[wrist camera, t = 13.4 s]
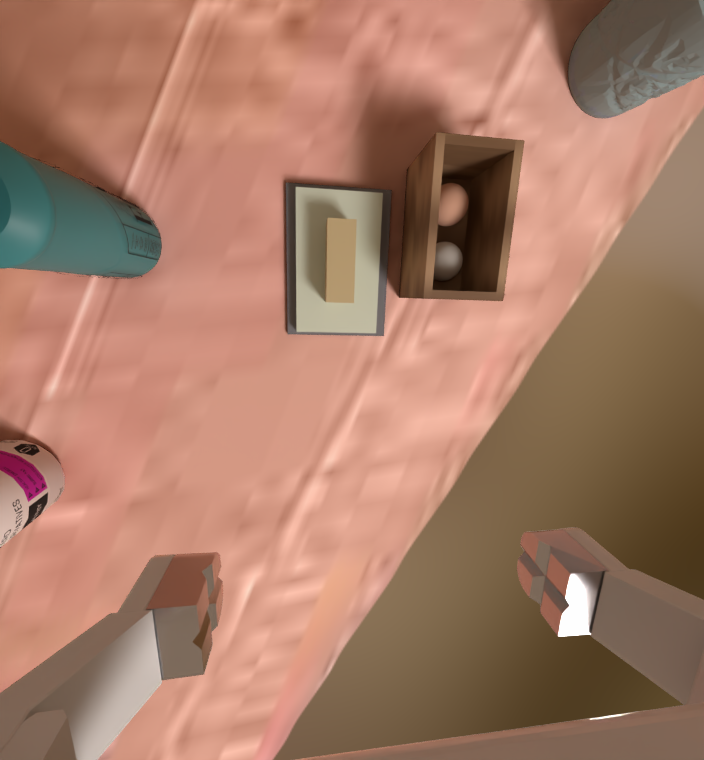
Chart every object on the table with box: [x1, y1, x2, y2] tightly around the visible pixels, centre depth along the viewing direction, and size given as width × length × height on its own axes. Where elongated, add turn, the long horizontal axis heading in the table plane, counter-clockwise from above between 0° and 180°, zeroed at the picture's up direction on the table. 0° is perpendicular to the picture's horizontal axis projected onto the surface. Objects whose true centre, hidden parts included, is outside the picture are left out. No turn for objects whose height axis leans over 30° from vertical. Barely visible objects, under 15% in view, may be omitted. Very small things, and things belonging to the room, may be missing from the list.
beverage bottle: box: [0, 141, 162, 279], centre depth 22 cm, size 6×7×20 cm
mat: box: [286, 183, 392, 336], centre depth 34 cm, size 14×10×1 cm
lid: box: [296, 187, 383, 333], centre depth 32 cm, size 13×8×4 cm, turn 178°
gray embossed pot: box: [568, 0, 704, 118], centre depth 28 cm, size 10×10×12 cm
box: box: [399, 132, 524, 301], centre depth 31 cm, size 12×7×8 cm, turn 178°
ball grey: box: [433, 242, 463, 281], centre depth 33 cm, size 4×4×4 cm
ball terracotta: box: [438, 183, 469, 226], centre depth 32 cm, size 4×4×4 cm
